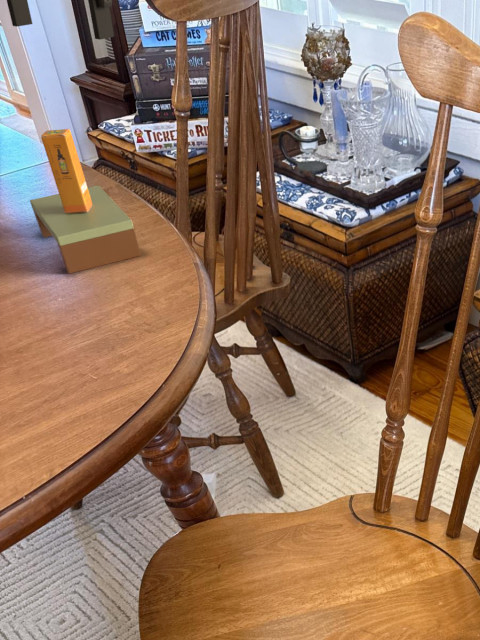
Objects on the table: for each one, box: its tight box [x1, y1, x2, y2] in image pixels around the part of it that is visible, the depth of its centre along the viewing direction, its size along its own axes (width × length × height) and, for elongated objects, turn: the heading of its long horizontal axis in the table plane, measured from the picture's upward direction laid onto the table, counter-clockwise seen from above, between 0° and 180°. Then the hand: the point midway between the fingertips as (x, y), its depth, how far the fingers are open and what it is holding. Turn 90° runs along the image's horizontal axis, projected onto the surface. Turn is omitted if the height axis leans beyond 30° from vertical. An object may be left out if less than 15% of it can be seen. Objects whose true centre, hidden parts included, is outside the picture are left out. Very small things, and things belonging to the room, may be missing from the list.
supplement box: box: [40, 128, 92, 213], centre depth 105 cm, size 3×3×10 cm
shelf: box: [29, 185, 142, 275], centre depth 110 cm, size 16×10×5 cm, turn 32°
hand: (63, 31), depth 101 cm, fingers open, 13 cm apart
